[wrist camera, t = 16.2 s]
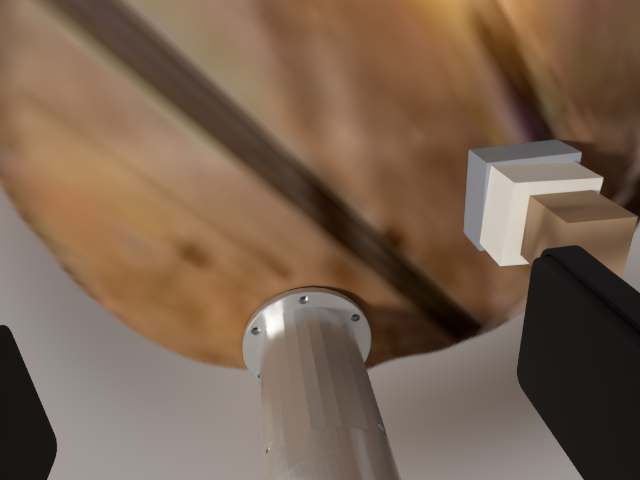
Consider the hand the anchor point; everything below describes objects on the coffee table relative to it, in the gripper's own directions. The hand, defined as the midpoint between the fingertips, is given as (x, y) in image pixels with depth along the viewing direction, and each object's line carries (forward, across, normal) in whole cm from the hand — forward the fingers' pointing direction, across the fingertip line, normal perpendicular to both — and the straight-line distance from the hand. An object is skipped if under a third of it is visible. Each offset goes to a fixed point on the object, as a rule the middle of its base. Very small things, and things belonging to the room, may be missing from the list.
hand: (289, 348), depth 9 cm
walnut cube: (+26, -22, +12) cm, 36 cm away
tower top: (+30, -21, +12) cm, 38 cm away
